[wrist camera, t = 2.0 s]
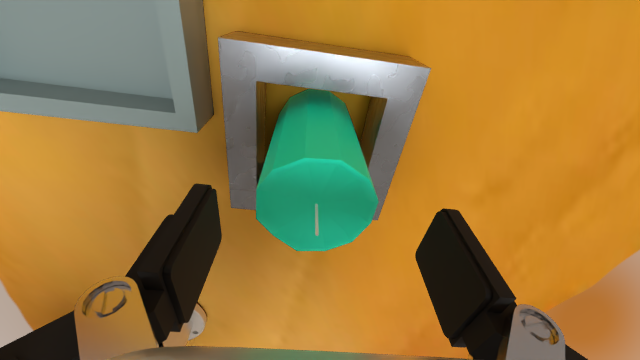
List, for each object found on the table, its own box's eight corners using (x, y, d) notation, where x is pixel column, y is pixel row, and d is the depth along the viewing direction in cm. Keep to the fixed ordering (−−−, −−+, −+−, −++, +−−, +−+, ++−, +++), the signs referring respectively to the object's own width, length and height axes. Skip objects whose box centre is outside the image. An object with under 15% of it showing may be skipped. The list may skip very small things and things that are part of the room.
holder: (369, 191, 25) (377, 220, 22) (242, 179, 24) (231, 207, 20) (409, 56, 18) (430, 68, 15) (236, 31, 17) (218, 37, 14)
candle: (320, 70, 19) (329, 146, 9) (365, 130, 21) (411, 240, 11) (262, 121, 21) (216, 228, 11) (310, 170, 23) (308, 291, 14)
